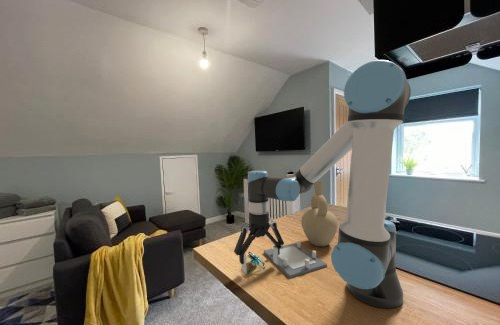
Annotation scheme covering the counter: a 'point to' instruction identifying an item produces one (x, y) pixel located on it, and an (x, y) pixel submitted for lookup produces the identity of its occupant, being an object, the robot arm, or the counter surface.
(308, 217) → the vase
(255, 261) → the stick construction toy
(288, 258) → the pin tray
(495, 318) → the counter surface
